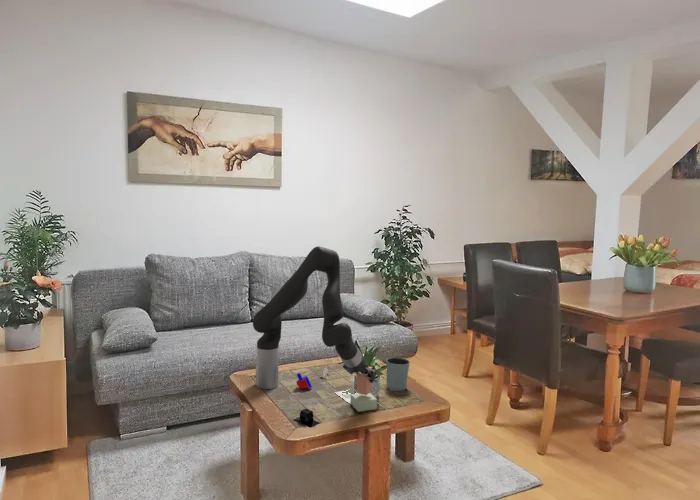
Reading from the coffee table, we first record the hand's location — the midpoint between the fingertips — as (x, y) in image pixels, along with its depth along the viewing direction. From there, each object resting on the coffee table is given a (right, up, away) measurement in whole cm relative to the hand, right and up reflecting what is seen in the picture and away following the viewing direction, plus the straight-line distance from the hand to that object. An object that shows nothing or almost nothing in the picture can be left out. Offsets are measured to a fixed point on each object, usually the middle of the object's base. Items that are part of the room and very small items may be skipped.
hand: (366, 379), depth 206 cm
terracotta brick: (-1, -5, -1) cm, 5 cm away
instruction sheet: (-6, -9, +9) cm, 15 cm away
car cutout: (-19, -8, +28) cm, 35 cm away
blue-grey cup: (+14, -9, +21) cm, 26 cm away
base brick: (-1, -11, 0) cm, 11 cm away
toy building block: (-26, -8, +16) cm, 32 cm away
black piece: (-23, -12, -15) cm, 30 cm away
